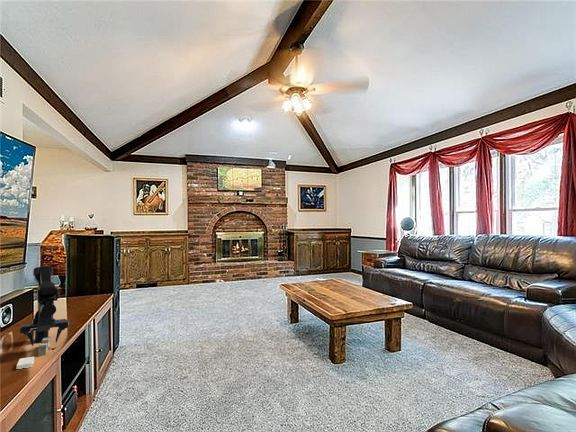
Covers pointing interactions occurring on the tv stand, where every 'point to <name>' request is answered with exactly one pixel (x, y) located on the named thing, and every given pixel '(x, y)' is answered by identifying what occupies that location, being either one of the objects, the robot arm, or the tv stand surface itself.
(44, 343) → the curved white panel
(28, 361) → the tile
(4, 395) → the tv stand surface
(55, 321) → the smartphone
